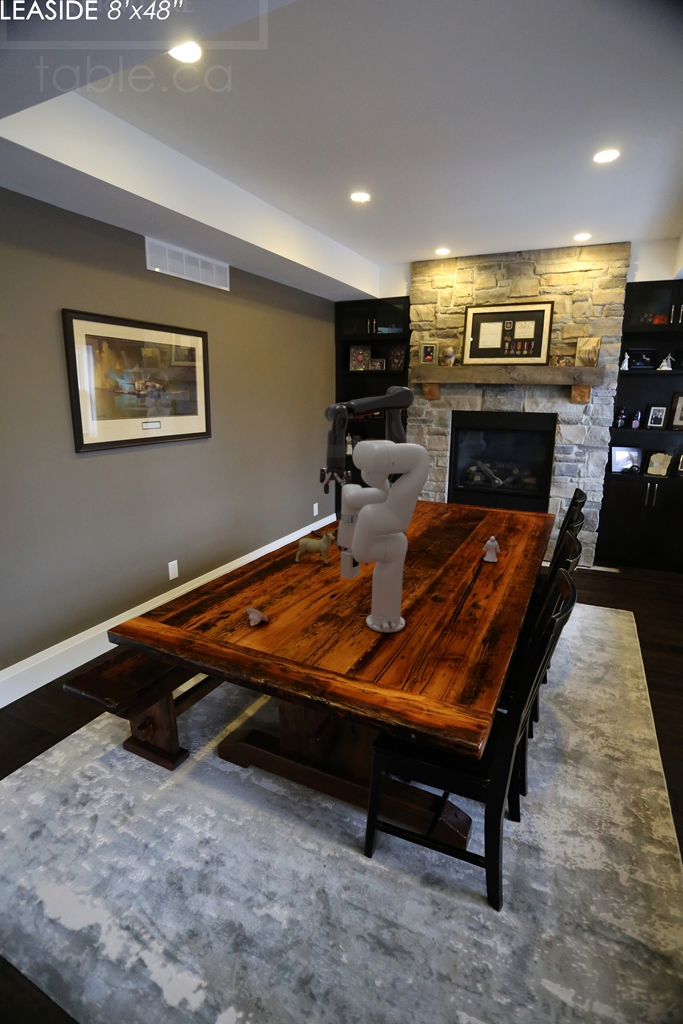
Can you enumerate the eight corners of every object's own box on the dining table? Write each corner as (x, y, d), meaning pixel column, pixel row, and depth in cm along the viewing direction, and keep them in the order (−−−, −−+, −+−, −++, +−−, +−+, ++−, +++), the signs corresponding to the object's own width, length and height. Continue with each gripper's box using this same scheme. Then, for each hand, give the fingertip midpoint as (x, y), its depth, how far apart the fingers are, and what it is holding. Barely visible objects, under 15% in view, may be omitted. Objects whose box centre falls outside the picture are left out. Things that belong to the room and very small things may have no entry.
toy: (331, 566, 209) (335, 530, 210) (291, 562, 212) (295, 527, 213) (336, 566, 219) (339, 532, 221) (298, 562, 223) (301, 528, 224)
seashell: (251, 634, 162) (235, 615, 161) (262, 623, 165) (246, 604, 164) (262, 630, 156) (245, 610, 155) (273, 618, 159) (257, 599, 158)
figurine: (481, 562, 222) (483, 536, 219) (482, 556, 230) (484, 531, 227) (499, 564, 220) (501, 538, 217) (499, 558, 228) (501, 533, 225)
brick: (359, 574, 191) (360, 550, 189) (349, 579, 186) (350, 554, 183) (350, 571, 194) (351, 547, 191) (340, 576, 188) (340, 552, 186)
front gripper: (376, 519, 182) (374, 567, 187) (339, 512, 192) (338, 557, 196) (364, 524, 176) (363, 572, 181) (327, 516, 186) (326, 562, 190)
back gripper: (355, 456, 200) (354, 495, 204) (326, 453, 207) (326, 491, 211) (345, 458, 194) (344, 499, 197) (316, 454, 201) (315, 494, 205)
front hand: (350, 564), depth 188 cm, fingers closed on brick, 4 cm apart
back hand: (335, 495), depth 204 cm, fingers open, 8 cm apart
